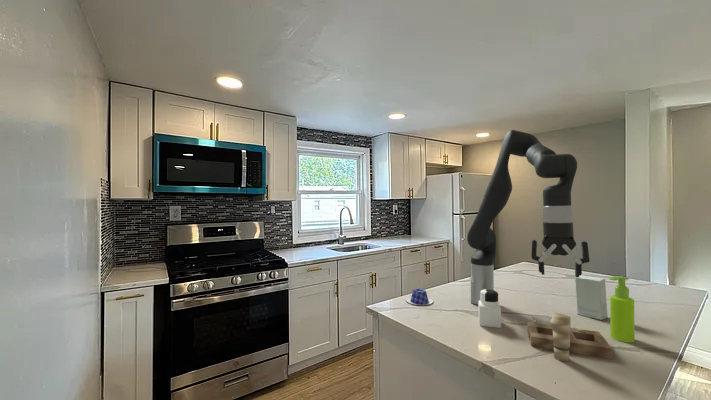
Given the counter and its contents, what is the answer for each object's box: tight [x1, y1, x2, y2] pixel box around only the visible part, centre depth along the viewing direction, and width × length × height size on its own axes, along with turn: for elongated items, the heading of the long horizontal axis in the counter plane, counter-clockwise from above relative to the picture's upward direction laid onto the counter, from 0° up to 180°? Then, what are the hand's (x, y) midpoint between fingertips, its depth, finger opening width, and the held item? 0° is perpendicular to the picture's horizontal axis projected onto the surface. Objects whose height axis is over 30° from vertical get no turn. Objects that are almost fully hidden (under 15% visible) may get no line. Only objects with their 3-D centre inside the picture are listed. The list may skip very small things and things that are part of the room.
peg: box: [551, 312, 572, 363], centre depth 87 cm, size 4×4×12 cm
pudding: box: [405, 288, 434, 306], centre depth 137 cm, size 12×12×5 cm
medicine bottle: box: [477, 289, 502, 329], centre depth 112 cm, size 7×7×12 cm
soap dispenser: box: [607, 275, 636, 344], centre depth 99 cm, size 6×7×20 cm
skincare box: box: [574, 274, 608, 321], centre depth 119 cm, size 8×6×15 cm
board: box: [526, 321, 614, 360], centre depth 96 cm, size 20×12×3 cm, turn 66°
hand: (559, 275), depth 91 cm, fingers open, 8 cm apart
